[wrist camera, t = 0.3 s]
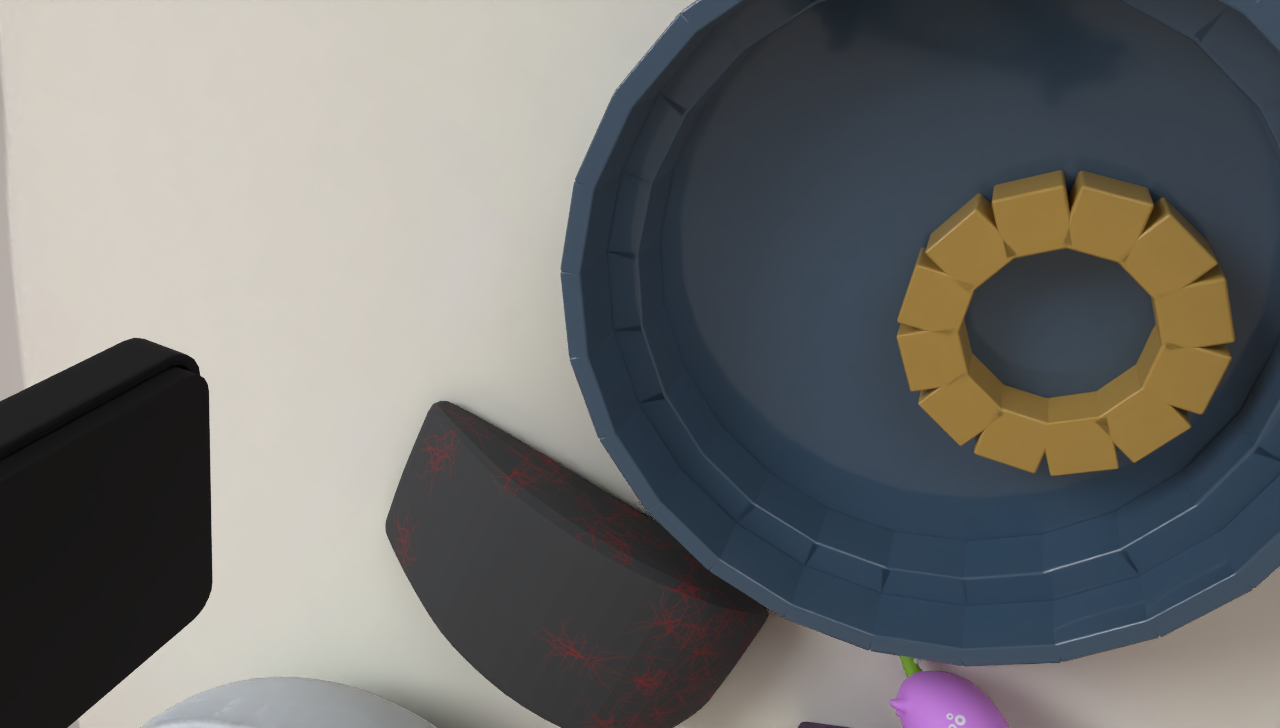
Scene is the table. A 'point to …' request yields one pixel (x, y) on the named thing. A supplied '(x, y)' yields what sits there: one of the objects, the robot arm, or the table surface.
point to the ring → (1087, 422)
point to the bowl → (874, 292)
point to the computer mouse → (560, 583)
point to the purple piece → (938, 702)
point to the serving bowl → (286, 707)
